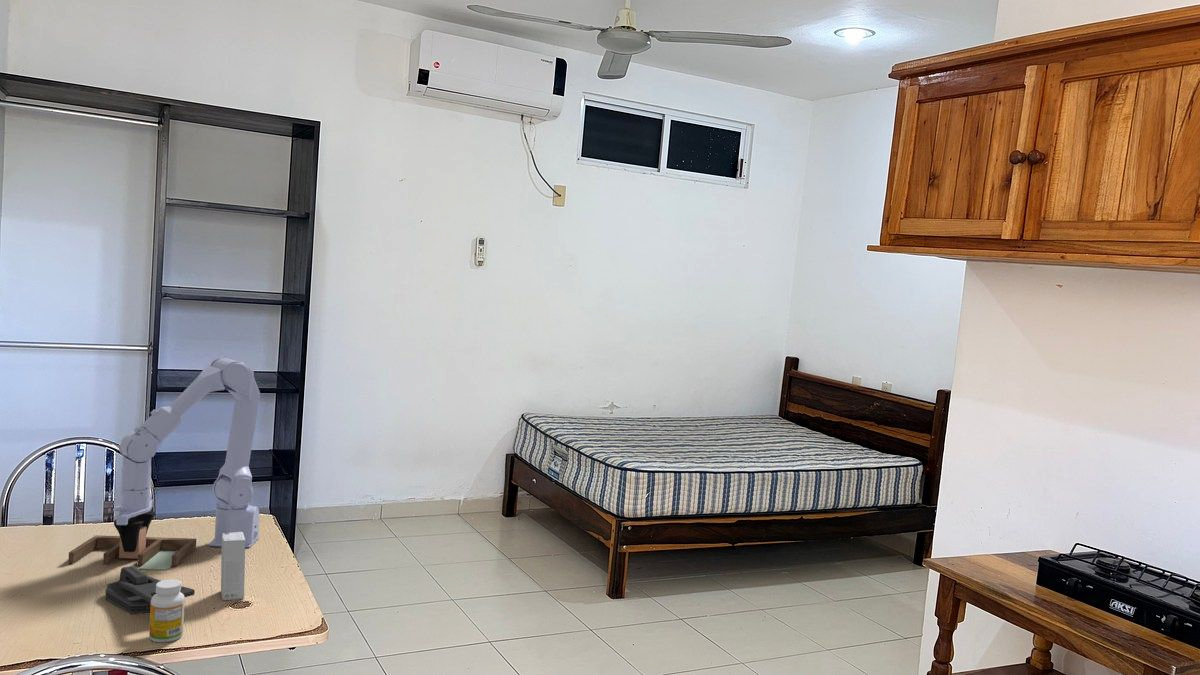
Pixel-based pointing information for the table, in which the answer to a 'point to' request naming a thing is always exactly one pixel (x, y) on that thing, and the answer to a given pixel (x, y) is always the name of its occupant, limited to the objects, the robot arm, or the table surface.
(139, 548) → the terracotta block
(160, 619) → the supplement bottle
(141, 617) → the table surface
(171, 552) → the notched rack
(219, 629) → the table surface
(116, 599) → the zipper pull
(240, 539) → the skincare box
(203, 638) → the table surface
